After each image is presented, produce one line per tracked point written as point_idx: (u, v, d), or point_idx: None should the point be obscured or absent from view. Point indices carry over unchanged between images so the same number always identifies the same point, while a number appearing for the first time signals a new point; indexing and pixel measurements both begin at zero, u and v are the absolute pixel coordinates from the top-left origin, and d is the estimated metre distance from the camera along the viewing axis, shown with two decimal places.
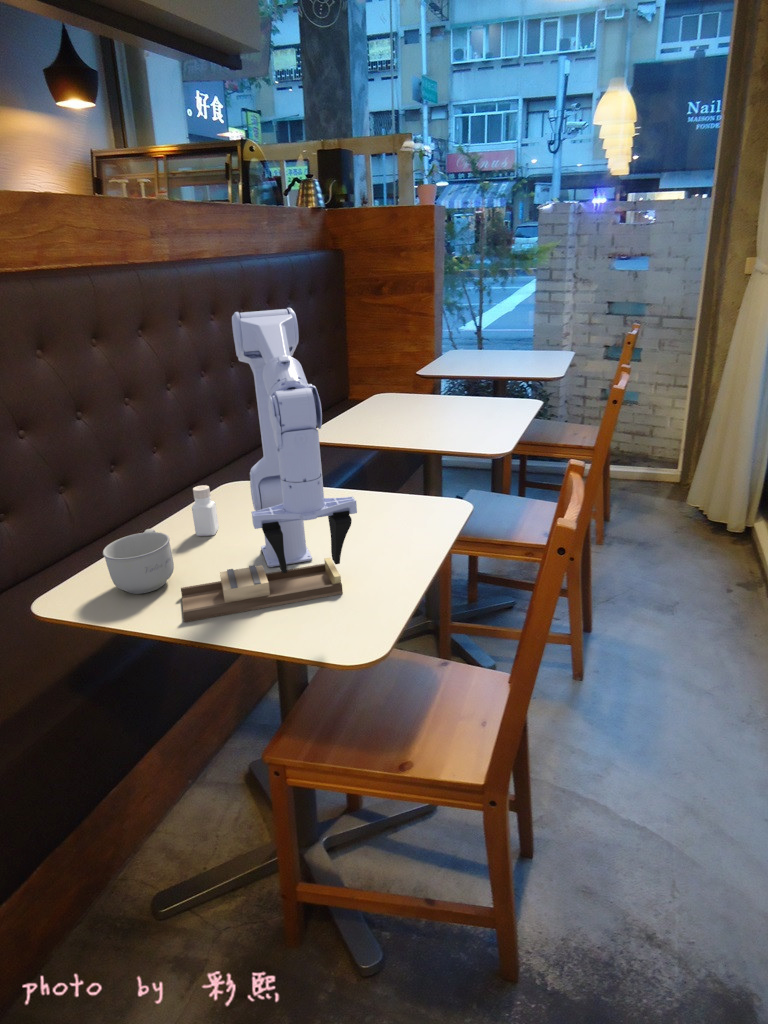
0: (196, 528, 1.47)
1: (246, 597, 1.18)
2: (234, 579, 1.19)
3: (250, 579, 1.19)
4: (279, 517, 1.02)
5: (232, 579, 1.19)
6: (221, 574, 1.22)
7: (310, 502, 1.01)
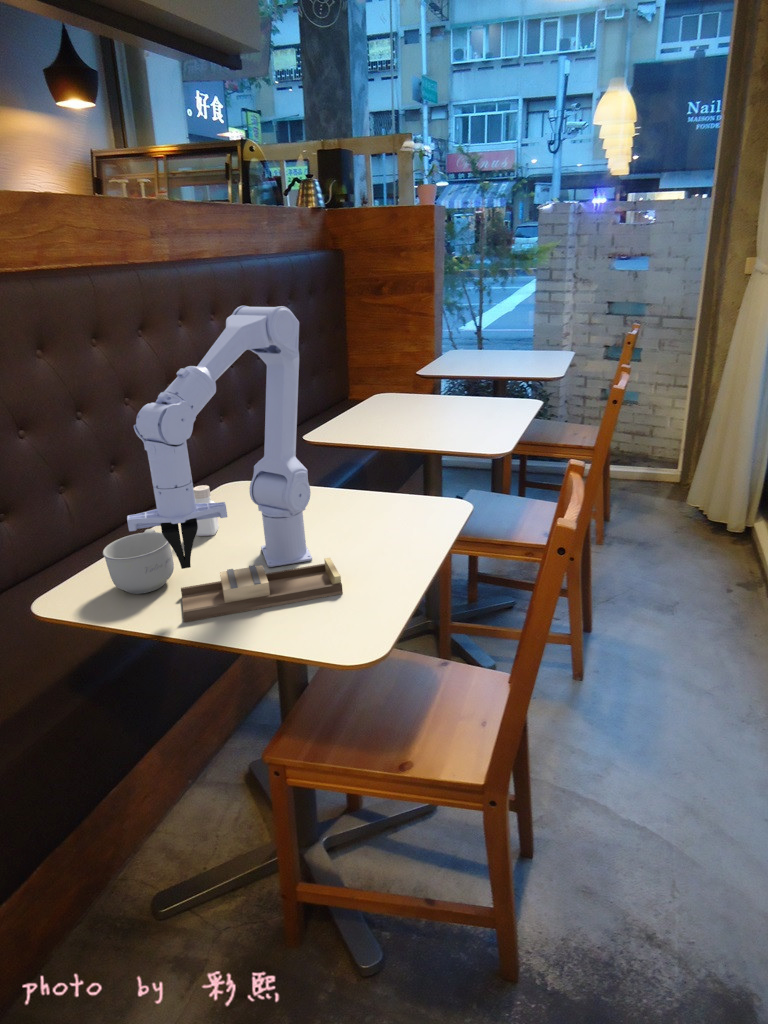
0: None
1: (246, 597, 1.18)
2: (234, 579, 1.19)
3: (250, 579, 1.19)
4: (151, 521, 1.11)
5: (232, 579, 1.19)
6: (221, 574, 1.22)
7: (179, 507, 1.11)
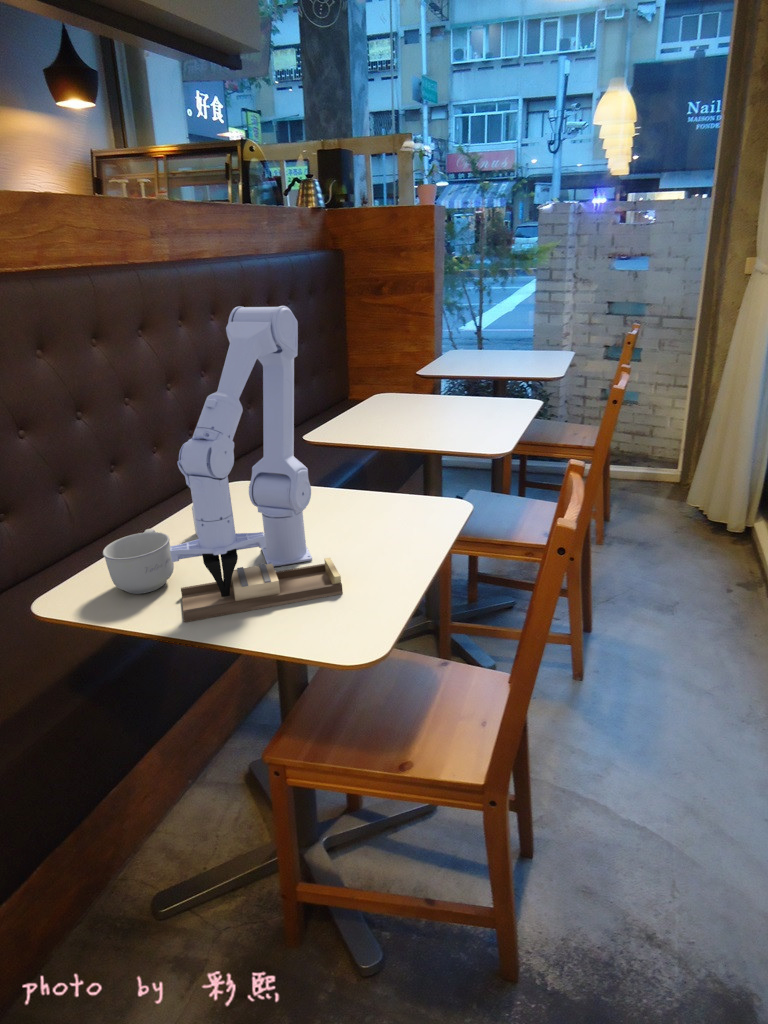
0: (196, 528, 1.47)
1: (256, 595, 1.18)
2: (244, 577, 1.19)
3: (260, 577, 1.20)
4: (193, 552, 1.14)
5: (242, 577, 1.19)
6: None
7: (220, 538, 1.14)
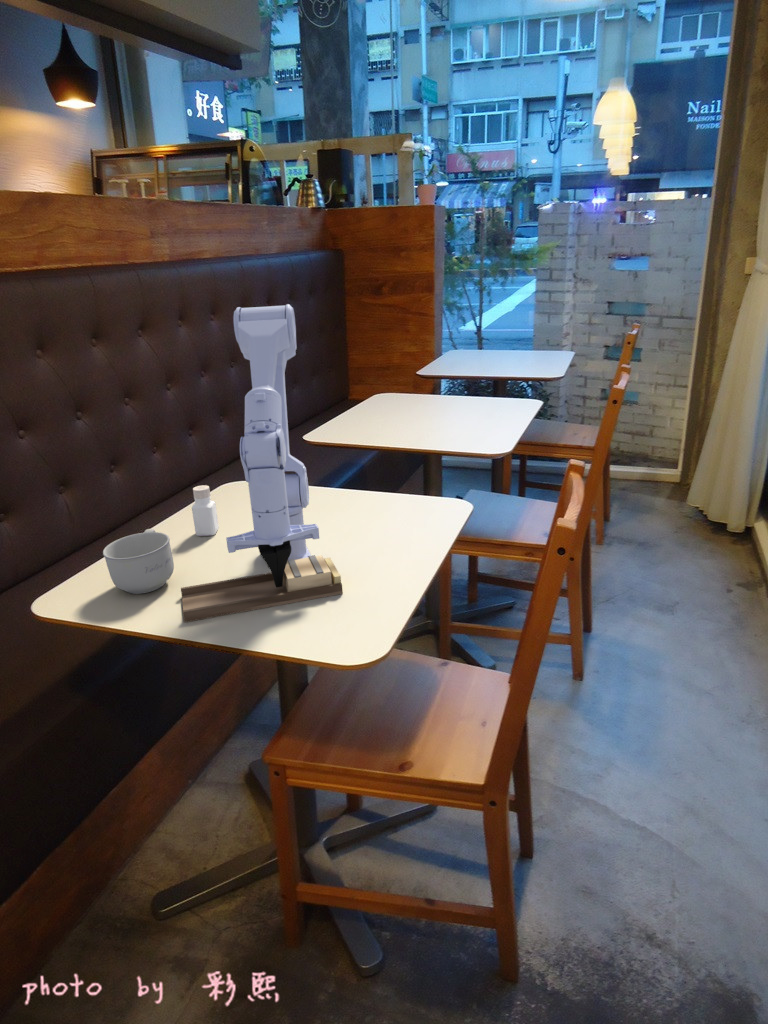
0: (196, 528, 1.47)
1: (309, 586, 1.20)
2: (296, 568, 1.21)
3: (312, 568, 1.22)
4: (250, 543, 1.17)
5: (294, 568, 1.21)
6: None
7: (276, 530, 1.16)
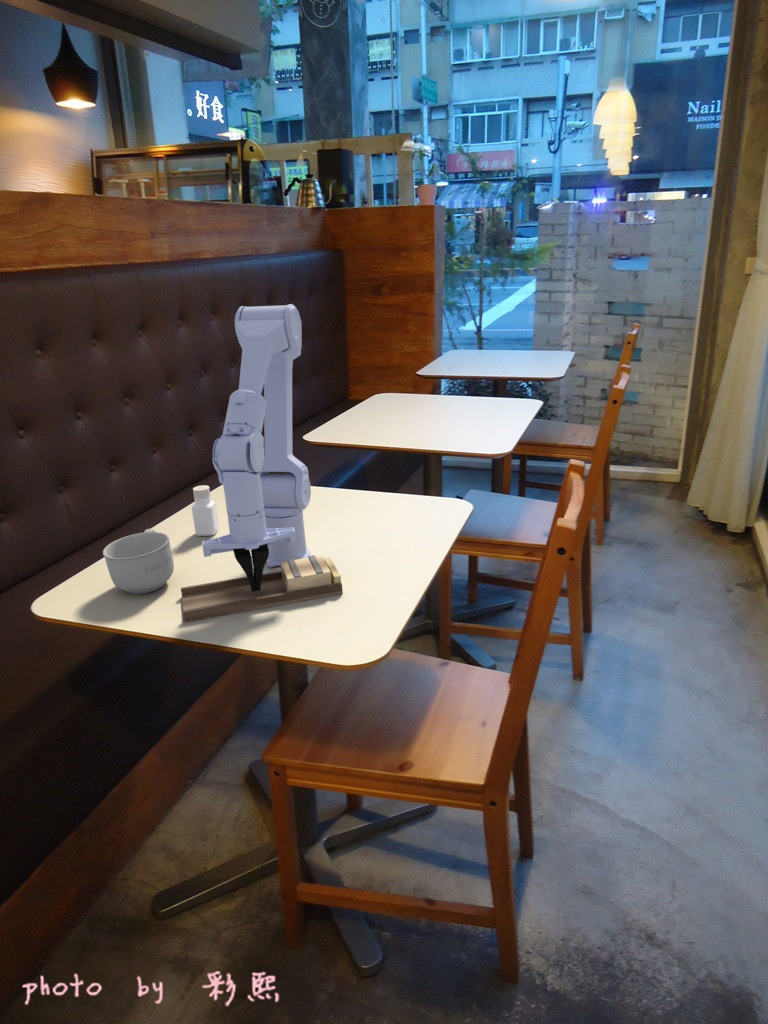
0: (196, 528, 1.47)
1: (309, 586, 1.20)
2: (296, 568, 1.21)
3: (312, 568, 1.22)
4: (225, 546, 1.16)
5: (294, 568, 1.21)
6: (282, 564, 1.24)
7: (252, 533, 1.15)
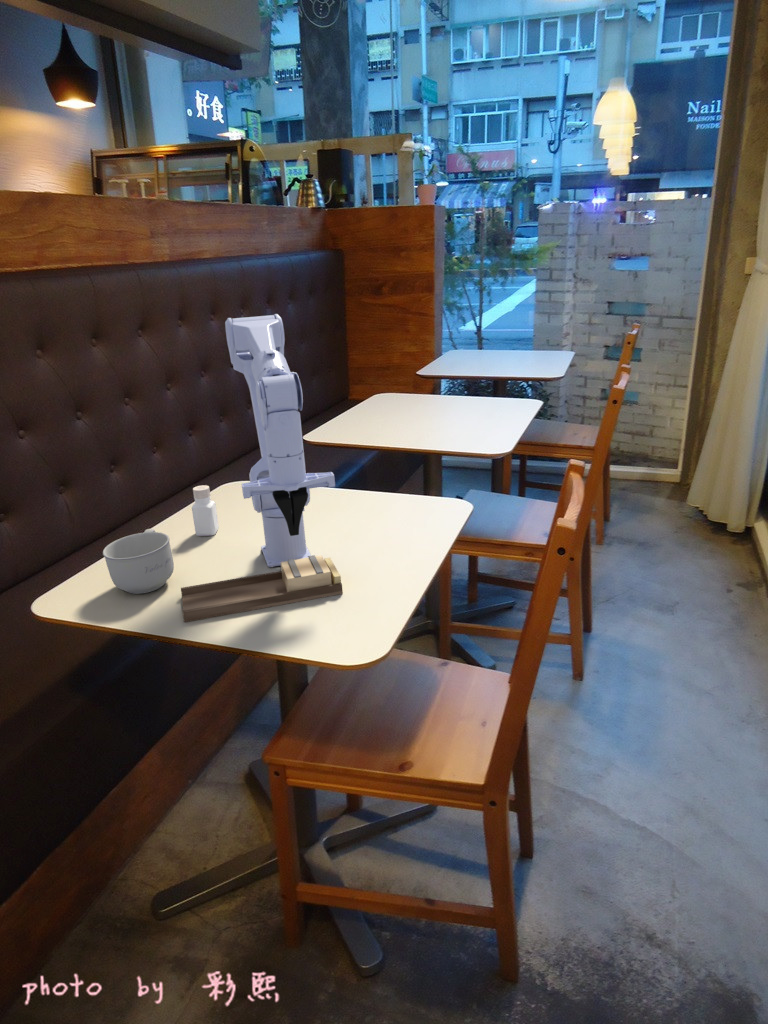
0: (196, 528, 1.47)
1: (309, 586, 1.20)
2: (296, 568, 1.21)
3: (312, 568, 1.22)
4: (265, 488, 1.16)
5: (294, 568, 1.21)
6: (282, 564, 1.24)
7: (292, 475, 1.15)
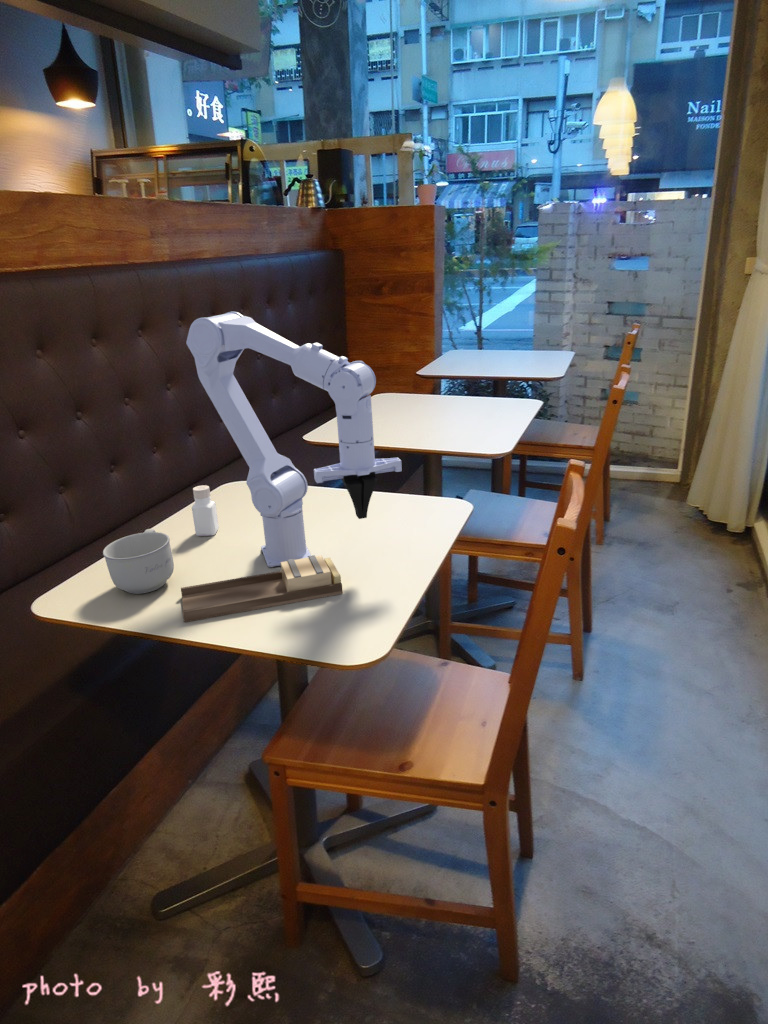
0: (196, 528, 1.47)
1: (309, 586, 1.20)
2: (296, 568, 1.21)
3: (312, 568, 1.22)
4: (338, 473, 1.21)
5: (294, 568, 1.21)
6: (282, 564, 1.24)
7: (364, 460, 1.21)
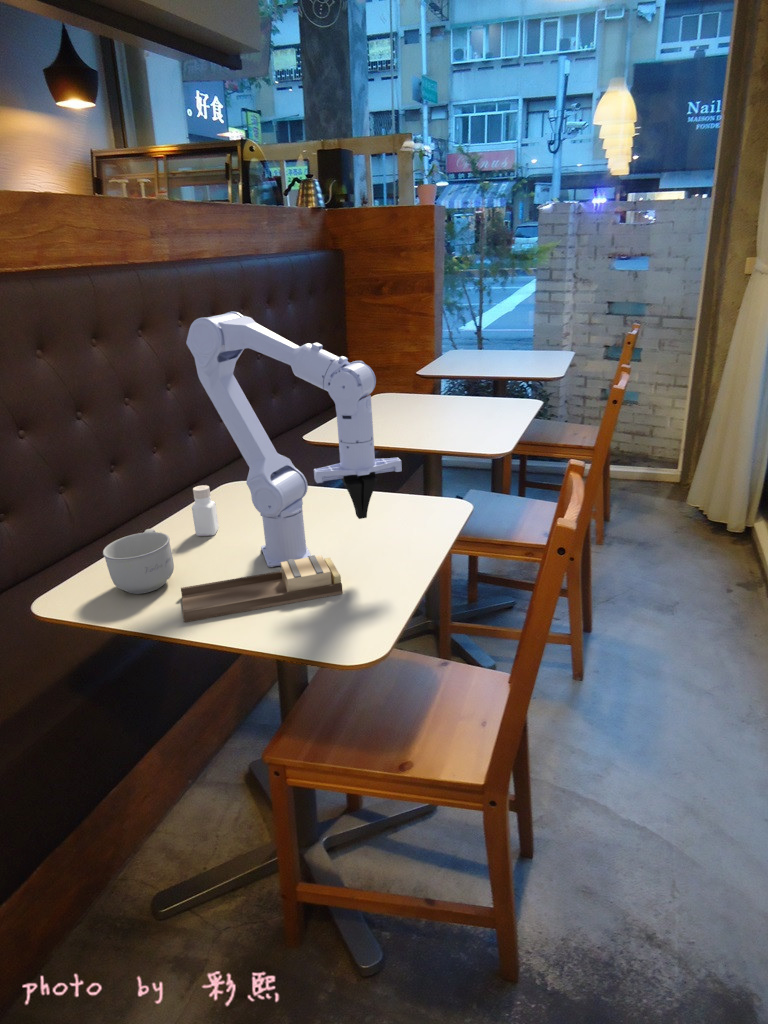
0: (196, 528, 1.47)
1: (309, 586, 1.20)
2: (296, 568, 1.21)
3: (312, 568, 1.22)
4: (338, 473, 1.21)
5: (294, 568, 1.21)
6: (282, 564, 1.24)
7: (364, 460, 1.21)
